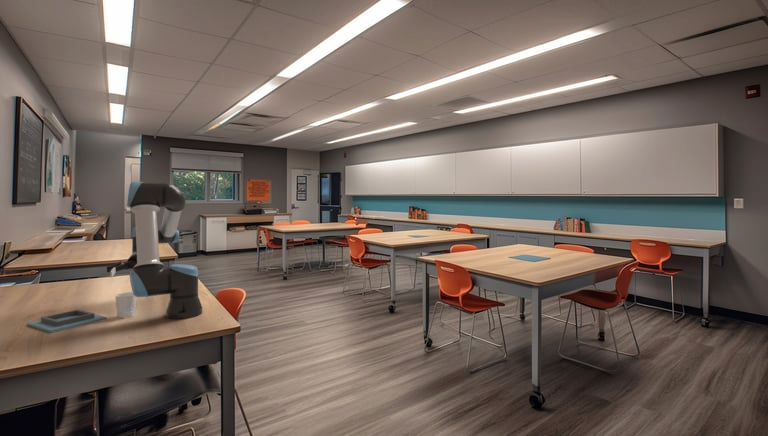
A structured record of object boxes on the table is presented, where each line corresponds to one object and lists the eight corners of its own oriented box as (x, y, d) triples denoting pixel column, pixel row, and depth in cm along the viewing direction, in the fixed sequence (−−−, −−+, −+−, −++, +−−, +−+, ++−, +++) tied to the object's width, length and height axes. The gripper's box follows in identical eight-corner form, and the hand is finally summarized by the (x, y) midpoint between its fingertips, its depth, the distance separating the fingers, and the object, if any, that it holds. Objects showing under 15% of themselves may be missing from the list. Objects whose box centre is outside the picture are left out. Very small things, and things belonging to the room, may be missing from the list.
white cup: (138, 315, 172) (138, 294, 172) (118, 319, 166) (117, 297, 166) (133, 312, 177) (133, 291, 177) (113, 315, 172) (113, 294, 171)
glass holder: (106, 319, 166) (106, 312, 166) (51, 332, 148) (51, 325, 148) (82, 313, 175) (82, 306, 175) (27, 325, 157) (27, 318, 157)
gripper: (164, 266, 202) (158, 280, 183) (108, 267, 192) (96, 282, 173) (164, 253, 201) (159, 266, 182) (108, 253, 190) (96, 267, 171)
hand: (128, 274), depth 177 cm, fingers open, 13 cm apart
